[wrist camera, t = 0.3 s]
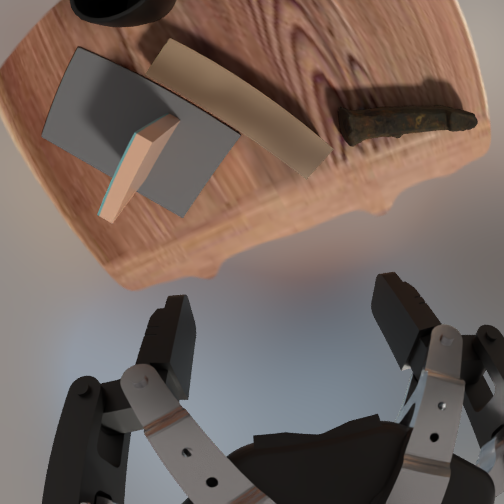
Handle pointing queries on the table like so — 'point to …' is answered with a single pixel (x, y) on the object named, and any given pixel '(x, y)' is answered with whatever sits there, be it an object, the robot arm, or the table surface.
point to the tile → (136, 164)
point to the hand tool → (401, 121)
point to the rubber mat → (135, 128)
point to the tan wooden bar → (239, 106)
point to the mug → (121, 11)
